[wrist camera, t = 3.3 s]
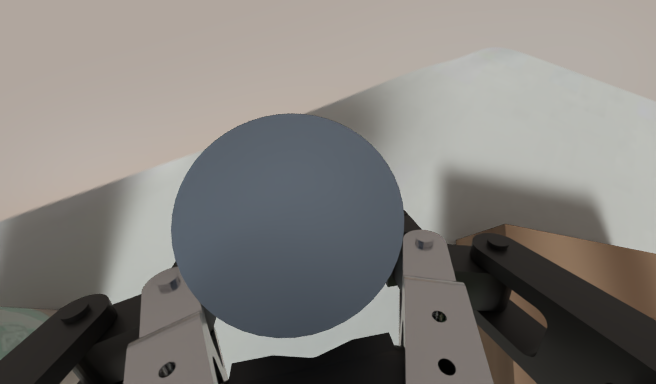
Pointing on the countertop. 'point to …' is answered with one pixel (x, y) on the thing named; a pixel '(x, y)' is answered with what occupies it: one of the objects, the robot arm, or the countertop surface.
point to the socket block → (585, 262)
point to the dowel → (287, 225)
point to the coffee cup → (23, 330)
